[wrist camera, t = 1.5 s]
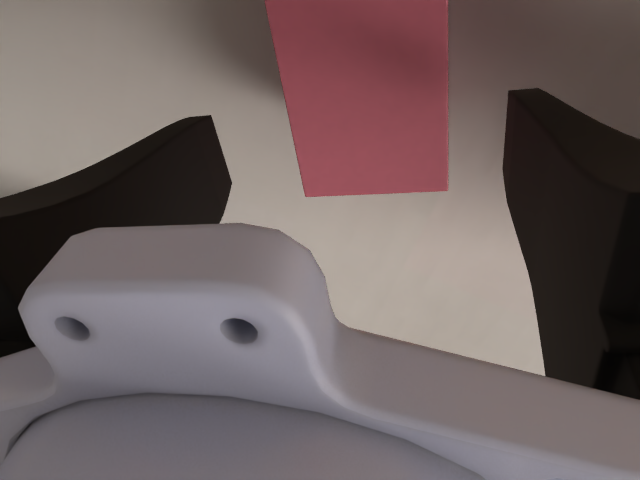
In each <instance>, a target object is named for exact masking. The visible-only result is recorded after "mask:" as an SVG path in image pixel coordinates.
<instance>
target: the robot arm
mask: <svg viewBox="0 0 640 480" xmlns="http://www.w3.org/2000/svg"><path fill="white" fill-rule="evenodd" d="M503 176H504V184H505V191H506V198H507V203H508V207H509V210H510V214H511V217H512V221H513V224H514V227H515V231H516V234H517V237H518V240H519V244H520V247H521V250H522V253H523V257H524V260H525V263H526V266H527V270H528V273H529V278H530V282H531V286H532V291H533V297H534V303H535V309H536V315H537V321H538V327H539V334H540V340H541V347H542V354H543V360H544V368H545V375H546V376H542V375H538V374H534V373H530V372H526V371H522V370H518V369H514V368H510V367H506V366H502V365H498V364H494V363H490V362H486V361H482V360H478V359H474V358H470V357H466V356H462V355H458V354H453V353H449V352H445V351H441V350H437V349H433V348H429V347H425V346H421V345H417V344H413V343H409V342H405V341H401V340H397V339H393V338H389V337H385V336H381V335H377V334H373V333H369V332H365V331H361V330H357V329H353V328H349V327H347V326H346V325H344V324H342V323H341V322H339V321H338V320H337V318H336V317H335V315H334V312H333V310H332V307H331V304H330V299H329V295H328V290H327V285H326V280H325V276H324V274H323V273H322V271H321V269H320V267H319V265H318V264H317V262H316V260H315V258H314V257H313V255H312V253H311V251H310V250H309V249H307V248H306V247H304V246H303V245H301V244H300V243H298V242H297V241H295V240H294V239H292V238H290V237H289V236H287V235H286V234H284V233H283V232H281V231H280V230H277V229H271V228H266V227H260V226H255V225H249V224H244V223H226V224H219V223H220V221H221V218H222V216H223V214H224V211H225V208H226V204H227V201H228V197H229V193H230V189H231V185H232V181H231V178H230V175H229V172H228V168H227V165H226V162H225V159H224V155H223V152H222V149H221V146H220V142H219V139H218V136H217V133H216V130H215V126H214V123H213V120H212V117H211V115H208V116H196V117H188V118H185V119H182V120H179V121H177V122H175V123H172V124H170V125H168V126H166V127H164V128H162V129H161V130H159V131H157V132H155V133H153V134H151V135H149V136H148V137H146V138H144V139H142V140H140V141H138V142H137V143H135V144H133V145H131V146H129V147H127V148H125V149H123V150H122V151H120V152H118V153H116V154H114V155H112V156H110V157H108V158H106V159H104V160H102V161H100V162H98V163H96V164H94V165H92V166H90V167H87V168H85V169H83V170H81V171H78V172H76V173H73V174H71V175H68V176H66V177H63V178H61V179H58V180H56V181H53V182H50V183H47V184H44V185H41V186H38V187H35V188H32V189H29V190H26V191H23V192H20V193H17V194H14V195H10V196H7V197H3V198H0V480H640V139H637V138H634V137H632V136H629V135H627V134H624V133H622V132H620V131H618V130H615V129H613V128H611V127H609V126H607V125H605V124H603V123H600V122H599V121H597V120H595V119H593V118H591V117H589V116H587V115H585V114H583V113H582V112H580V111H578V110H576V109H575V108H573V107H571V106H569V105H568V104H566V103H564V102H563V101H561V100H559V99H558V98H556V97H554V96H553V95H551V94H549V93H547V92H545V91H543V90H541V89H539V88H533V89H521V90H509V91H508V104H507V118H506V131H505V144H504V158H503Z"/></svg>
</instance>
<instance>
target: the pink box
mask: <svg viewBox="0 0 640 480" xmlns="http://www.w3.org/2000/svg"><path fill="white" fill-rule="evenodd" d="M265 6H266V11H267V15H268V20H269V25H270V30H271V35H272V40H273V44H274V49H275V54H276V59H277V64H278V68H279V73H280V78H281V83H282V88H283V92H284V97H285V102H286V107H287V112H288V116H289V121H290V126H291V131H292V136H293V140H294V145H295V150H296V155H297V160H298V164H299V169H300V174H301V179H302V184H303V188H304V193H305V196H306V197H317V196H341V195H364V194H388V193H412V192H435V191H448V0H265Z"/></svg>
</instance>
